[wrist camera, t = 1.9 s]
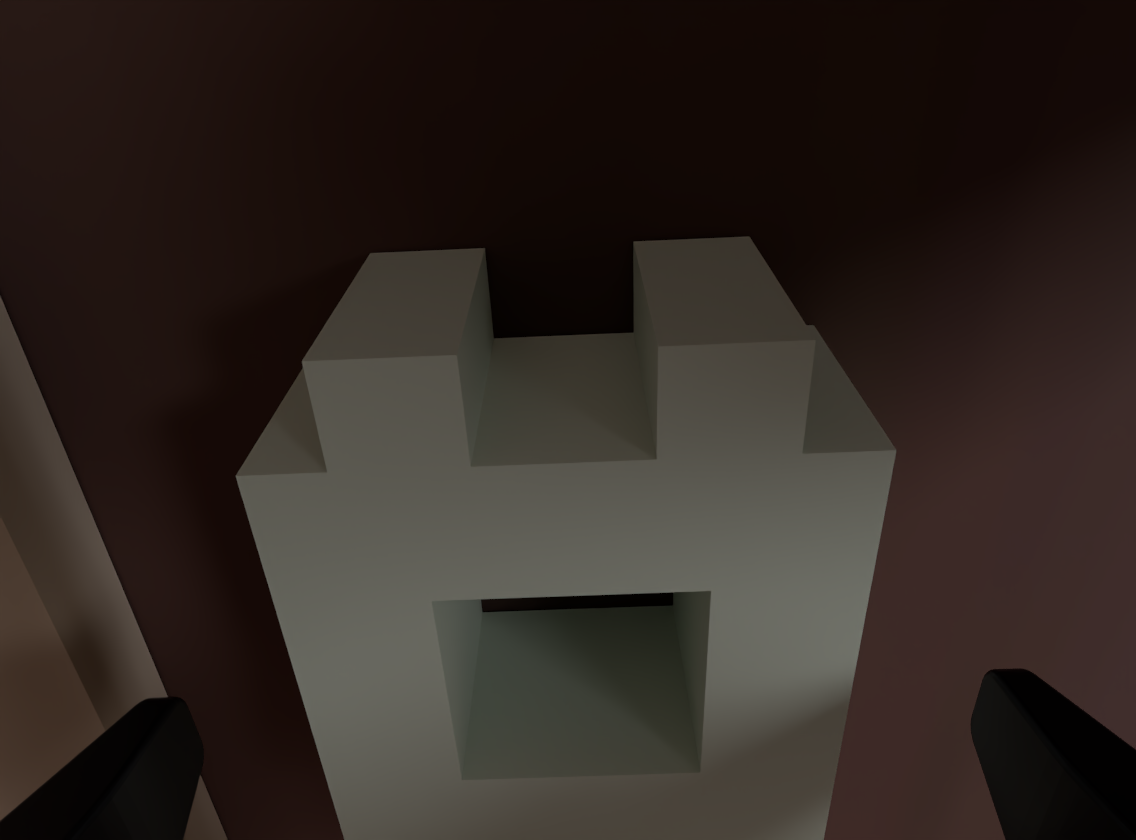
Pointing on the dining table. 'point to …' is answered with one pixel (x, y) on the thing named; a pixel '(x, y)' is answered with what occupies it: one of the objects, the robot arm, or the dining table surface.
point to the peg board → (59, 607)
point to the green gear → (572, 555)
